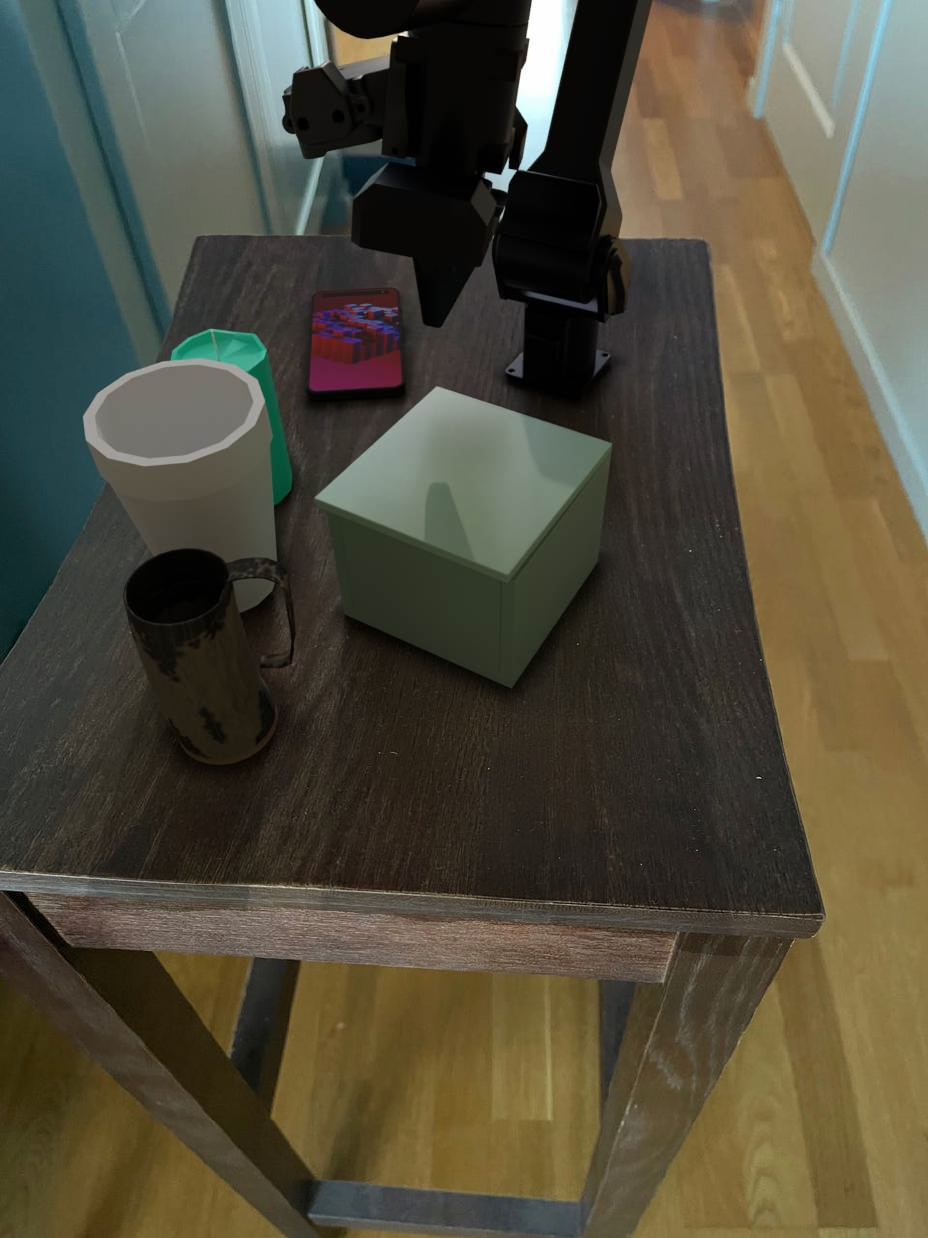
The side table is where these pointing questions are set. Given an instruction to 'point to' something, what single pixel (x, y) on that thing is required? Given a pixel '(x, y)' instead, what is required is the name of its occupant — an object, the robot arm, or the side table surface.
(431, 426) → the bin lid
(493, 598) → the green bin
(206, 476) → the foam cup
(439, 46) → the robot arm
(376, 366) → the smartphone
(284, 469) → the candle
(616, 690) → the side table surface
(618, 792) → the side table surface
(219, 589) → the mug
